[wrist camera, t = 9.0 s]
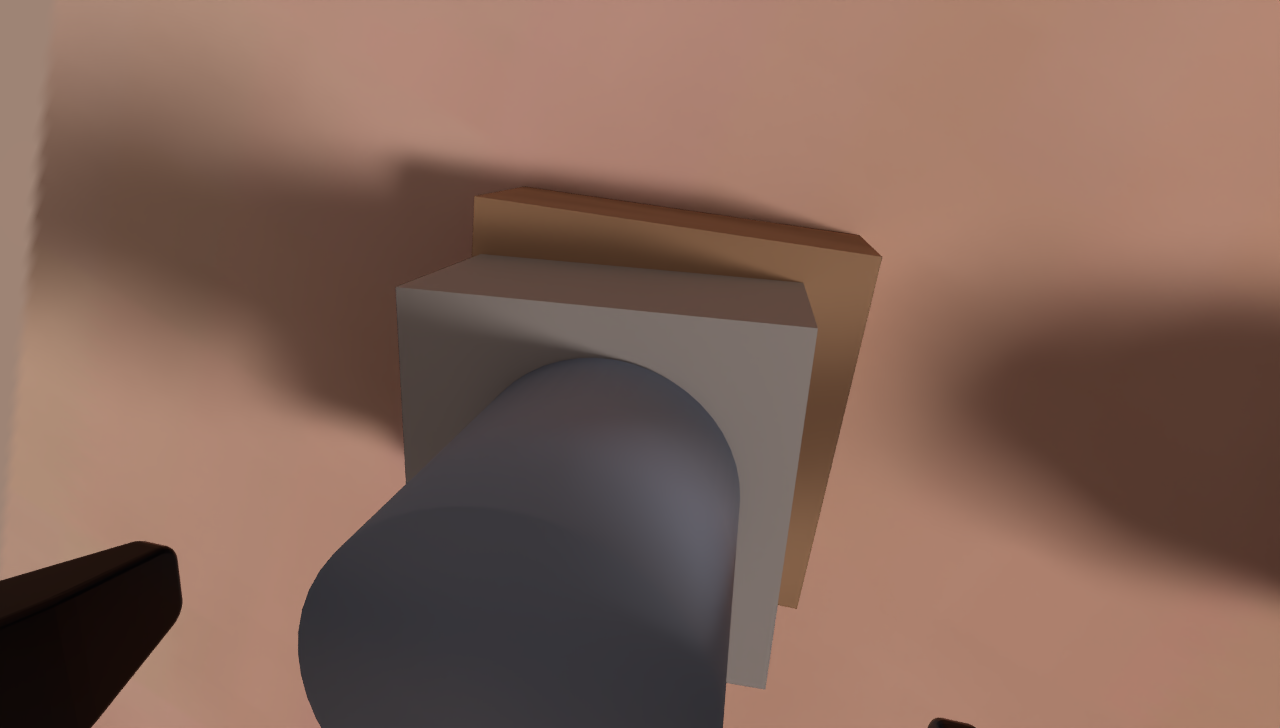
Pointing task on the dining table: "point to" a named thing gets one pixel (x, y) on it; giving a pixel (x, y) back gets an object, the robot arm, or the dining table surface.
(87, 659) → the robot arm
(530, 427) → the grey rounded cylinder
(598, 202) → the walnut slab
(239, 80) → the dining table surface
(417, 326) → the grey slab
